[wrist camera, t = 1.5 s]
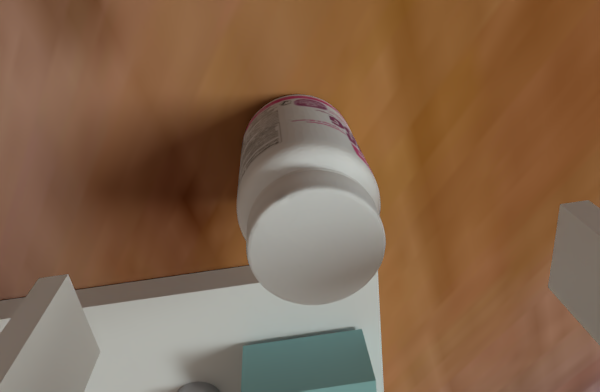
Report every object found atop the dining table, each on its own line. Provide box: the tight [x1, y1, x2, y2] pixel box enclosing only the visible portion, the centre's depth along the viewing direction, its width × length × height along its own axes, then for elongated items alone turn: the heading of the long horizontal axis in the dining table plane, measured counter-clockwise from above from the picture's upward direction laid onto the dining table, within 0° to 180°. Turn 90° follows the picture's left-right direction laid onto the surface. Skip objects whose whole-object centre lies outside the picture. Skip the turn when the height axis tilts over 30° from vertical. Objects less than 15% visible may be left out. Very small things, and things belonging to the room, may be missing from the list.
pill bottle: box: [237, 94, 386, 305], centre depth 17 cm, size 5×5×8 cm
